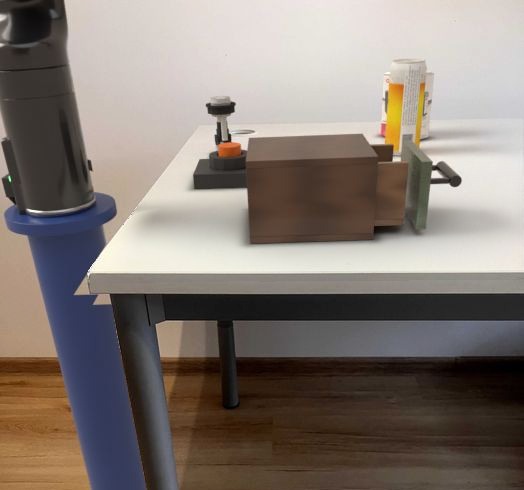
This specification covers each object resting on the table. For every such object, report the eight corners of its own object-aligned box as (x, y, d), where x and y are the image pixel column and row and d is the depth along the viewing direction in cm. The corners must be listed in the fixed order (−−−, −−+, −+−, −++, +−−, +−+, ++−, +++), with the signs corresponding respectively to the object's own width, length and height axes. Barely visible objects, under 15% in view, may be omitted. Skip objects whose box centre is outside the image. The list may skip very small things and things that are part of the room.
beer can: (410, 147, 110) (417, 57, 102) (424, 154, 105) (434, 60, 97) (379, 150, 109) (384, 59, 101) (392, 157, 104) (399, 63, 96)
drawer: (437, 199, 79) (444, 138, 75) (461, 227, 70) (471, 160, 66) (305, 203, 80) (305, 143, 76) (311, 232, 70) (311, 165, 66)
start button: (217, 159, 92) (217, 147, 91) (219, 154, 95) (218, 142, 94) (240, 158, 92) (240, 146, 91) (241, 153, 95) (241, 141, 94)
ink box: (378, 136, 119) (382, 71, 113) (393, 132, 122) (398, 68, 116) (414, 142, 114) (420, 74, 107) (429, 137, 116) (436, 71, 110)
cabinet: (359, 207, 81) (362, 133, 76) (373, 239, 70) (378, 156, 65) (252, 210, 81) (248, 137, 76) (249, 243, 70) (245, 161, 65)
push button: (243, 158, 107) (240, 99, 102) (215, 161, 106) (210, 101, 101) (234, 151, 113) (231, 94, 107) (207, 154, 111) (202, 96, 106)
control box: (194, 189, 91) (191, 162, 89) (200, 172, 100) (198, 147, 98) (265, 186, 91) (264, 159, 89) (265, 170, 100) (264, 145, 98)
